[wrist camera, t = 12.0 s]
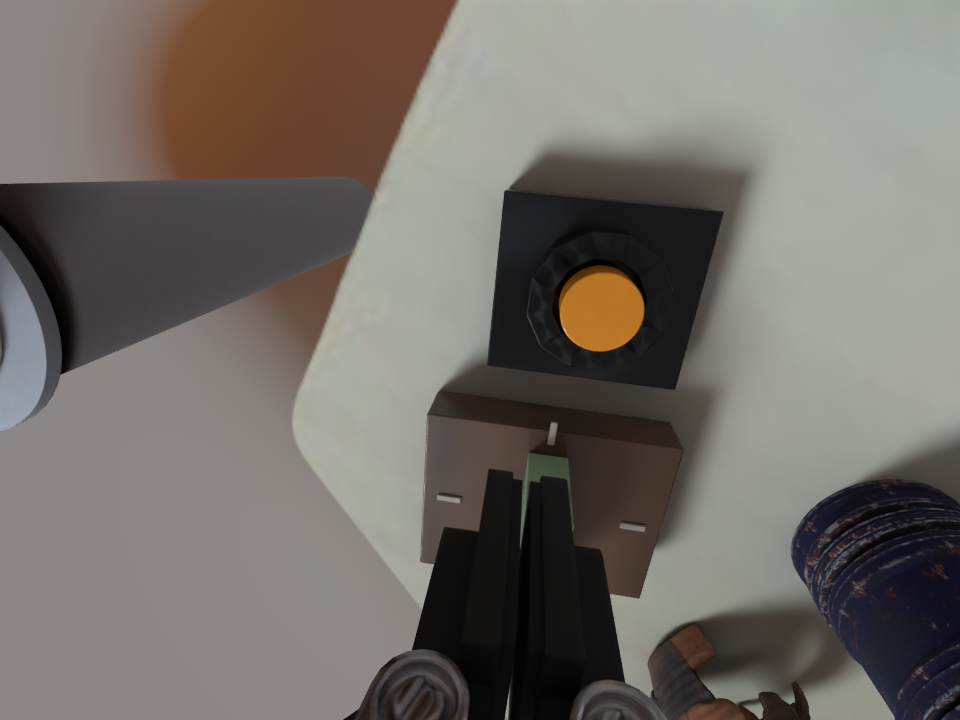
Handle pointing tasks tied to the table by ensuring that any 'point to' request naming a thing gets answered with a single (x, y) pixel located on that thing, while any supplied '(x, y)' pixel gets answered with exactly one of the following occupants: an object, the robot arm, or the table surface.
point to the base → (592, 469)
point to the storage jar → (890, 588)
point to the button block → (587, 242)
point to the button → (600, 308)
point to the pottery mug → (689, 700)
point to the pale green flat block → (544, 467)
